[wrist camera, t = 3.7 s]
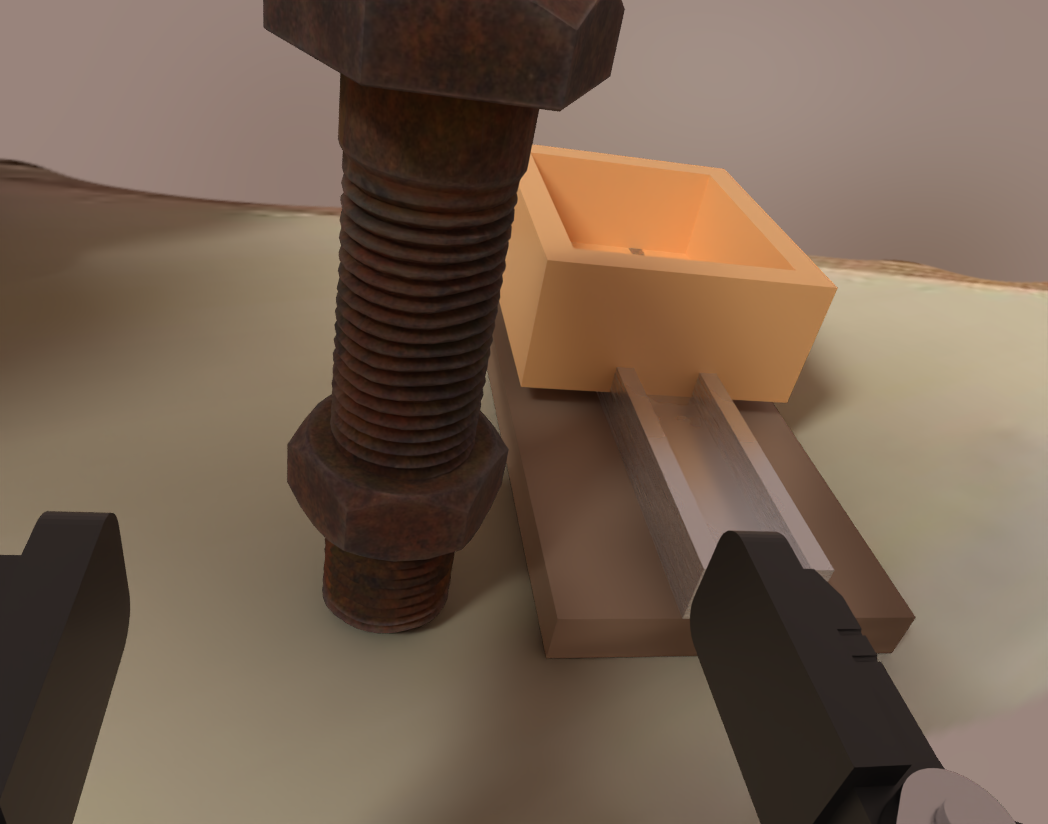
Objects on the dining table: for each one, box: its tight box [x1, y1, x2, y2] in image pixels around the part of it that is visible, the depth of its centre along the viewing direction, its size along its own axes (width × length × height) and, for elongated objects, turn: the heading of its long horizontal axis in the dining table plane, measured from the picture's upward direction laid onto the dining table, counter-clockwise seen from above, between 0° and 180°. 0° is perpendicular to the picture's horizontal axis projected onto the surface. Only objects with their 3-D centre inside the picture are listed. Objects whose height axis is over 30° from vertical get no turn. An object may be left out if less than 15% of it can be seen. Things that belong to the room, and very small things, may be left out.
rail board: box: [487, 302, 916, 658], centre depth 29 cm, size 10×20×2 cm, turn 9°
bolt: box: [263, 0, 625, 633], centre depth 17 cm, size 6×5×15 cm
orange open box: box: [499, 144, 837, 403], centre depth 30 cm, size 10×10×4 cm
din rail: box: [572, 242, 834, 619], centre depth 28 cm, size 4×20×2 cm, turn 9°
